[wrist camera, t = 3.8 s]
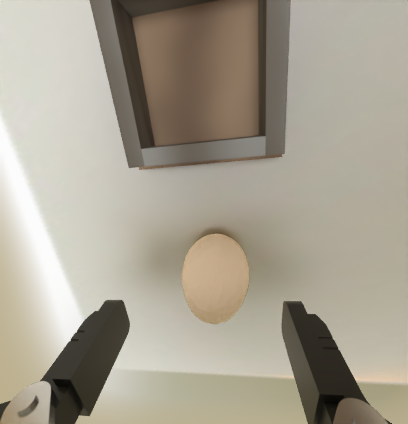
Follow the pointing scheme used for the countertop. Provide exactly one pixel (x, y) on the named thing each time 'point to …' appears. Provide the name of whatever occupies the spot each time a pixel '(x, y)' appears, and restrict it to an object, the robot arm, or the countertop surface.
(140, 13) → the holder
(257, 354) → the countertop surface
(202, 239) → the egg
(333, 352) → the robot arm
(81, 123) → the countertop surface
